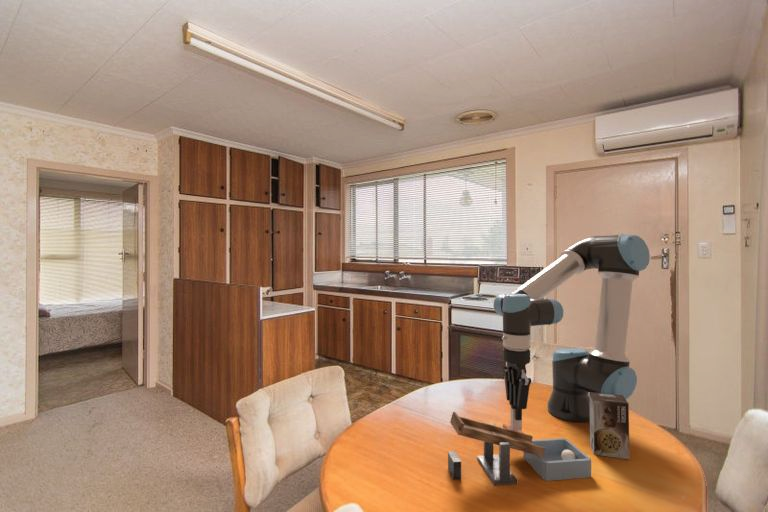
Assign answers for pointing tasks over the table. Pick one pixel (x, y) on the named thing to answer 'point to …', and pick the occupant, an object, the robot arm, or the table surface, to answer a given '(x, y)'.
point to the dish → (559, 460)
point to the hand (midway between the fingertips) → (516, 429)
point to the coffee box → (609, 425)
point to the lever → (495, 434)
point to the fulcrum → (488, 464)
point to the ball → (567, 455)
